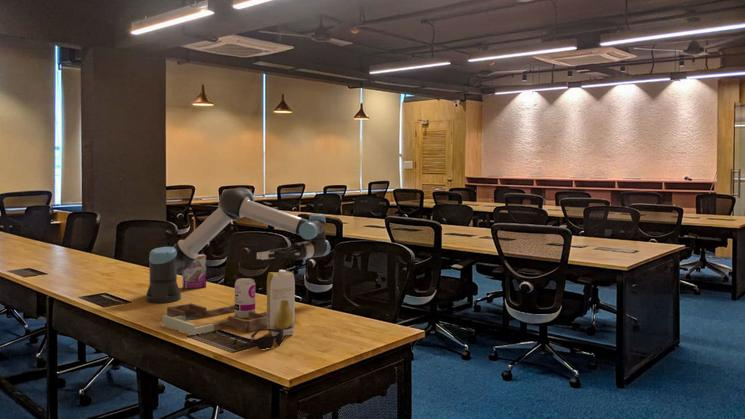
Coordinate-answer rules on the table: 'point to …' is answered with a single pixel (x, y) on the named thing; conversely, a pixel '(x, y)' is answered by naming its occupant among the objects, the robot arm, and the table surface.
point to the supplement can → (244, 297)
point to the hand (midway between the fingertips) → (259, 256)
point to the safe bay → (185, 325)
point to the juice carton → (281, 302)
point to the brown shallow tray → (197, 311)
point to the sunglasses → (265, 339)
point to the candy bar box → (195, 274)
